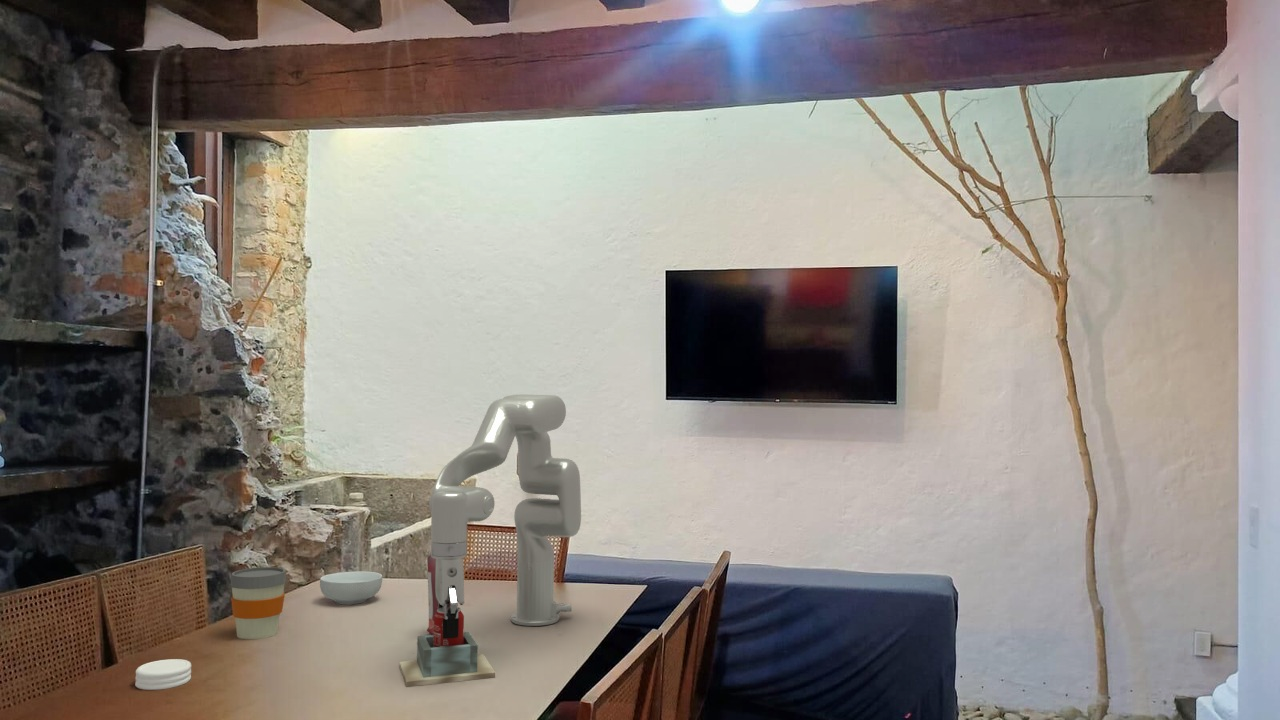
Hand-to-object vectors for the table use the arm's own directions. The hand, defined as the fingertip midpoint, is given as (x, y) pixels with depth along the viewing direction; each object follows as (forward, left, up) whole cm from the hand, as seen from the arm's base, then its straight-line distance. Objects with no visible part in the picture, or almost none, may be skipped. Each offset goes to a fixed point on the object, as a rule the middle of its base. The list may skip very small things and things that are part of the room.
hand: (447, 632), depth 187 cm
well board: (0, 0, -8) cm, 8 cm away
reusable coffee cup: (+39, -44, -9) cm, 59 cm away
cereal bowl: (+16, -72, -9) cm, 74 cm away
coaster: (+55, -12, -9) cm, 57 cm away
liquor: (-3, -29, -9) cm, 30 cm away
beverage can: (0, 0, -8) cm, 8 cm away
